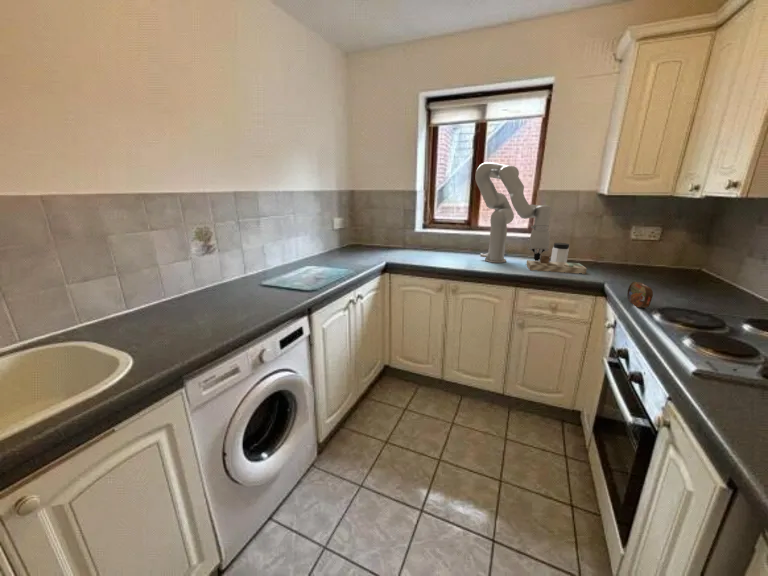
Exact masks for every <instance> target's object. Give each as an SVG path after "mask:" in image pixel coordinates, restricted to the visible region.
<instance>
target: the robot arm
mask: <svg viewBox="0 0 768 576" xmlns="http://www.w3.org/2000/svg"><path fill="white" fill-rule="evenodd" d="M519 174H520V171H519V169H518V167H516V166H515V165H510V164H509V165H508V164H502V163H496V162H489V161H487V162H483V163H481V164H479V166H478V167H477V169H476V171H475V176H474V177H475V183H476V185H477V187H478V190H479V192H480V194H481V197H482V199H483V200H484V203H485V205H486V207H487V208H488V209H491V210H494V211H493V212H492V214H491V215H490V220H489V221H490V232H489V243H488V244H489V245H488V252H487V253H480V255H479V256H480V257H481V258H484V261H485V262H488V263H489V262H490V263H493V264H495V263H497V264H503V263H506V262H507V259H506V258H505V251H506V243H507V235H508V234H507V233H508V224H510V223H512V222H513V220H514V217H515V215H514V211H513V208H514V210H515V212H516V213H517V215H518V216H519V217H520V218H521V219H533V218H534V223H533V224H534V225H531V226H530V228H531V229H532V230H531V233H530V237H529V241H528V247H527V249H528V251H532V252H533V253H534V255H533V260H534V261H540V256H541V255H542V253H544V252H547V251H549V247H550V240H551V231H550V230H549V228H550V221H551V214H552V206H550V205H542V204H541V205H538V204H529V202H528V201H527V199H526V197H525V194H524V190H525V186H524V184H523V182H522V180H521V178H520V177H519ZM491 179H497V180H501V182H502V184H503V185H504V188H505V189H506V190H507V192H508V194H509V198H510V200H511V203H510V202H509V200H508V197H507V196H506V195H505V194H504V193H502V192H498V191H497V189H496V186H495V184H494V183H493V182H492V180H491ZM511 204H512V206H513V208H512V206H511Z"/></svg>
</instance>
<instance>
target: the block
mask: <svg viewBox="0 0 768 576" xmlns="http://www.w3.org/2000/svg"><path fill="white" fill-rule="evenodd" d="M550 258H551V256H550V255H549V254H540V259H539V261H540V262H541V263H549V262H550Z"/></svg>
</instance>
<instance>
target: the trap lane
mask: <svg viewBox="0 0 768 576" xmlns="http://www.w3.org/2000/svg"><path fill="white" fill-rule="evenodd" d="M525 263H526V264H525V265H527V266H526V267H527V268H528V270H529V271H533V270H537V271H538V272H549V271H551V273H564V272H565V273H567V274H568V273H569V274H579V273H582V275H585V274H586V273H587V270H588V269H587V267H586V266H584V265H583V264H581V263H579V262H578V263H577V262H567V263H565V262H550V261H549V263H541V262H540V260H539V261H535V260H526V262H525ZM537 271H536V272H537ZM586 275H587V274H586Z"/></svg>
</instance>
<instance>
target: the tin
mask: <svg viewBox="0 0 768 576" xmlns="http://www.w3.org/2000/svg"><path fill="white" fill-rule="evenodd" d="M626 295H627V296H626V297H627V300H628V302H629V303H630V304H632V305H634V307H636V308H640V309H647V308H648V307H649V306H650V305H651V303H652V299H653V297H654V292H653V289H652V287H650V286H648V285H646V284H644V283H642V282H639V281H632V282H631V283H630V284H629V287H628V290H627V294H626Z"/></svg>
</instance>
